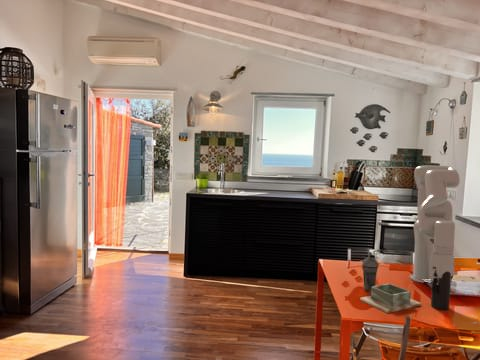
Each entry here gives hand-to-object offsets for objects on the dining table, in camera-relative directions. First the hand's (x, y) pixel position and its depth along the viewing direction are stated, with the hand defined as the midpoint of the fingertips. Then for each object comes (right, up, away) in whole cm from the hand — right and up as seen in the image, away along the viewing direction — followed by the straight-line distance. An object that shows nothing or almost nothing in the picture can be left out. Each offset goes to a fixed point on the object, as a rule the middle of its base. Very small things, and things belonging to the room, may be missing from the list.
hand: (441, 291), depth 155 cm
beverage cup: (-23, -5, +20) cm, 31 cm away
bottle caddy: (-20, -6, +4) cm, 21 cm away
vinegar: (0, -7, 0) cm, 7 cm away
